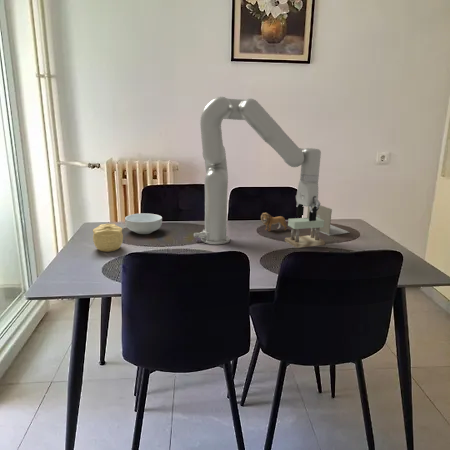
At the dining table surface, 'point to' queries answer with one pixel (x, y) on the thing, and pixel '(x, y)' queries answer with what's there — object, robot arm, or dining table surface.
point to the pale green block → (305, 223)
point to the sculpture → (107, 237)
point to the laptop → (327, 221)
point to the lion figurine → (272, 221)
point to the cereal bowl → (143, 222)
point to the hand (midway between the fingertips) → (305, 218)
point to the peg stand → (305, 239)
